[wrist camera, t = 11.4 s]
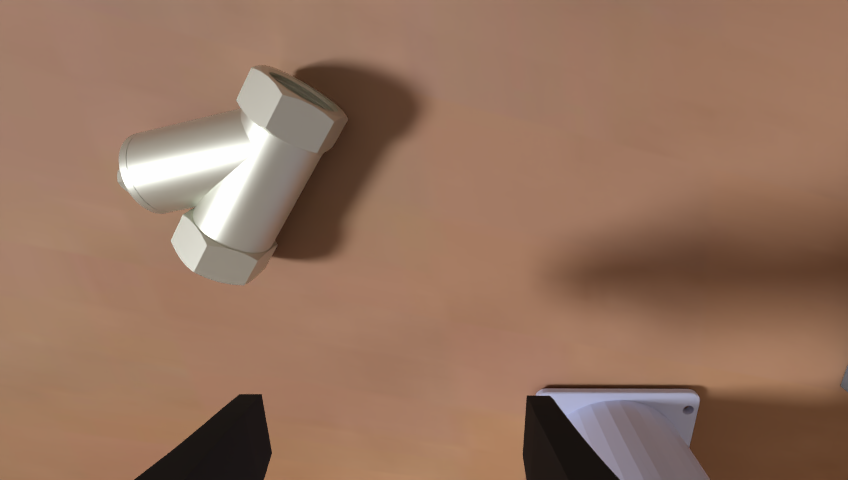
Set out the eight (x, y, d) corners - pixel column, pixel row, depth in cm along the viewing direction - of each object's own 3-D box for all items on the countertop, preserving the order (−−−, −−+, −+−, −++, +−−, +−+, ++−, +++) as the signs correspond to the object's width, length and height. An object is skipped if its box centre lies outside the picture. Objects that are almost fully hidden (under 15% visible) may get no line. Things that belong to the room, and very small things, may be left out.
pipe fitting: (144, 184, 21) (272, 263, 21) (73, 203, 17) (230, 298, 17) (213, 20, 18) (356, 115, 19) (147, 1, 14) (328, 119, 15)
